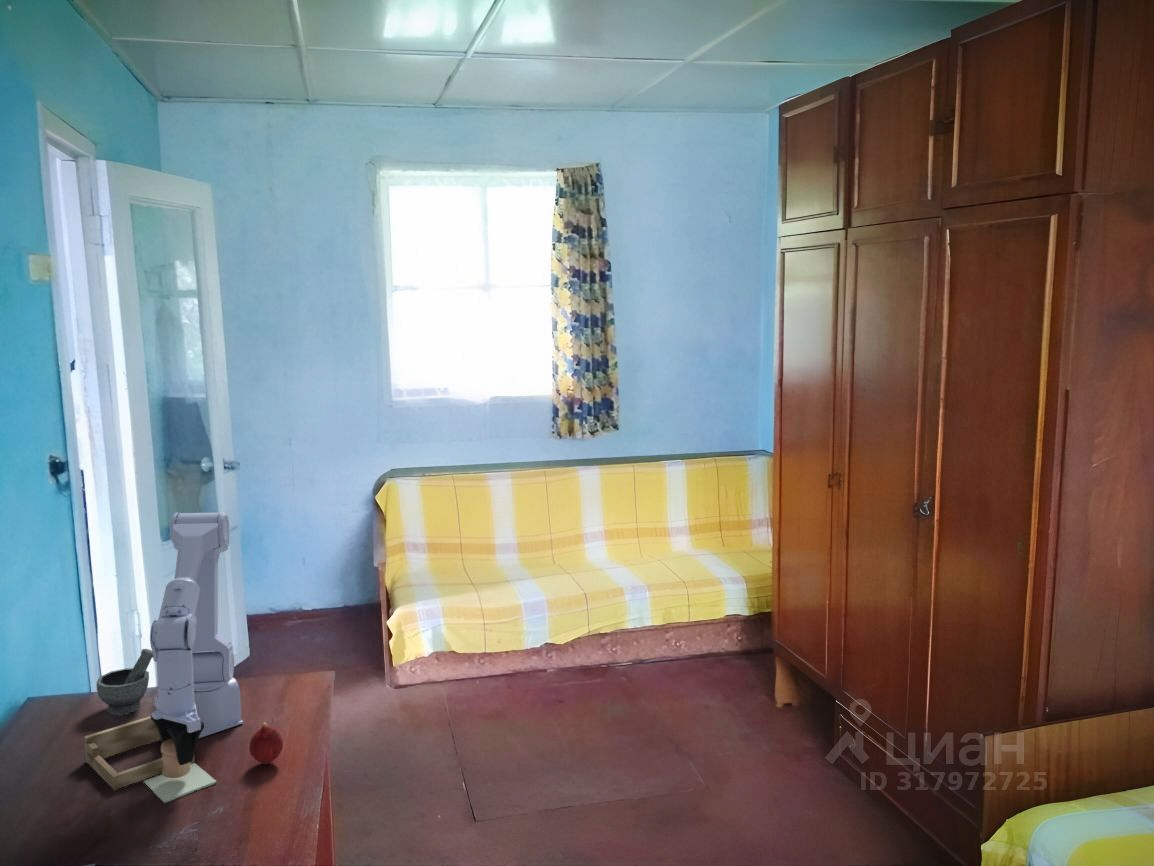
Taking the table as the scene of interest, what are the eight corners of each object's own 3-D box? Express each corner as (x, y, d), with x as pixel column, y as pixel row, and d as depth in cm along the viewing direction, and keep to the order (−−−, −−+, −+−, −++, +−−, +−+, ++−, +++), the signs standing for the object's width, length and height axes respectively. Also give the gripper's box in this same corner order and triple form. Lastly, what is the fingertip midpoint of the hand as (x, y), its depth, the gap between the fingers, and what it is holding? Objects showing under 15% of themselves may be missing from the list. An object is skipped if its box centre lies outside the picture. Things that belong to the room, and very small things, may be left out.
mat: (194, 764, 162) (194, 762, 162) (216, 783, 156) (216, 780, 156) (143, 783, 155) (143, 781, 155) (164, 802, 149) (164, 800, 149)
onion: (290, 760, 164) (288, 720, 163) (267, 774, 159) (265, 733, 158) (266, 753, 166) (265, 713, 165) (243, 767, 161) (241, 726, 160)
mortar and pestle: (102, 723, 177) (99, 666, 176) (94, 706, 185) (91, 651, 183) (162, 709, 184) (159, 654, 183) (152, 693, 192) (149, 640, 190)
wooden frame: (163, 736, 172) (162, 712, 172) (194, 761, 163) (193, 736, 162) (85, 762, 162) (84, 736, 161) (114, 790, 153) (112, 763, 152)
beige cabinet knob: (184, 759, 159) (185, 734, 158) (196, 772, 155) (197, 746, 154) (155, 768, 155) (156, 742, 154) (166, 782, 152) (167, 755, 151)
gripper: (135, 677, 155) (139, 750, 157) (169, 703, 145) (173, 780, 147) (175, 666, 160) (178, 737, 162) (211, 690, 150) (214, 765, 152)
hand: (178, 756), depth 155 cm, fingers closed on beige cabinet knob, 5 cm apart
